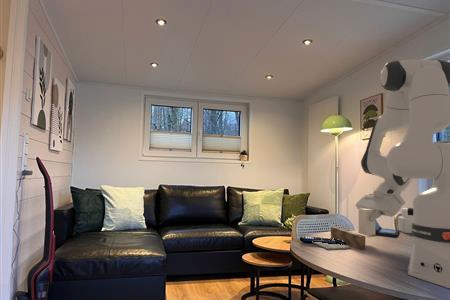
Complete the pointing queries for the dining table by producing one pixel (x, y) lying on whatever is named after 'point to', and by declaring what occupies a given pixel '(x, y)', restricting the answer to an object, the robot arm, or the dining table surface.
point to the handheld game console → (385, 231)
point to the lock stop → (366, 222)
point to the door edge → (348, 237)
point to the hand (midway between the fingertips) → (365, 219)
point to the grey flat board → (331, 246)
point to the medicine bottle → (405, 220)
